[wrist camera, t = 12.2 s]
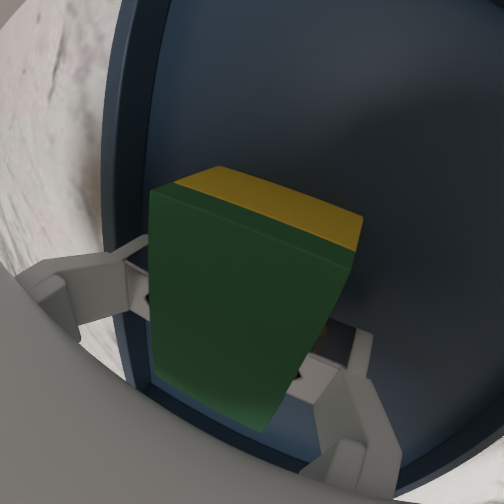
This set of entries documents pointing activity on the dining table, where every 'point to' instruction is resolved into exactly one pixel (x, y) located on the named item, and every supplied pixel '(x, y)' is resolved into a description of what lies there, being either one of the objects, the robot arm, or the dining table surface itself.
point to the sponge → (241, 286)
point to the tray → (336, 189)
